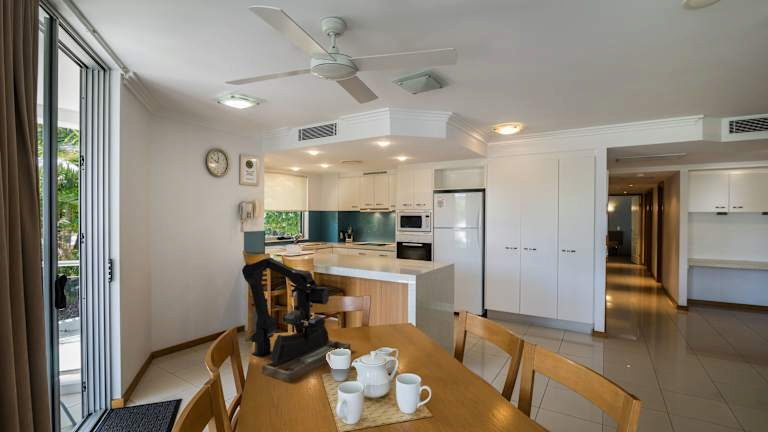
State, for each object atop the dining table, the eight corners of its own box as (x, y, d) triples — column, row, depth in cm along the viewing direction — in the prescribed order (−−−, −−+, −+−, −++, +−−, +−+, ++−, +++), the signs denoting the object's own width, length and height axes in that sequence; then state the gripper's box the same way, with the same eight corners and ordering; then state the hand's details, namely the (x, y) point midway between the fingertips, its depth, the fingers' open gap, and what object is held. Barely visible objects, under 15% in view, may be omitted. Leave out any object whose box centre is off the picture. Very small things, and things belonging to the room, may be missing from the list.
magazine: (271, 342, 133) (324, 307, 158) (265, 341, 135) (318, 306, 160) (279, 383, 137) (330, 342, 162) (273, 381, 138) (324, 341, 163)
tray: (262, 373, 136) (262, 365, 136) (326, 344, 167) (326, 338, 167) (288, 382, 128) (288, 374, 128) (350, 350, 159) (350, 344, 159)
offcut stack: (286, 374, 136) (286, 364, 136) (329, 352, 159) (329, 344, 159) (297, 377, 134) (297, 368, 134) (340, 354, 156) (340, 346, 156)
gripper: (272, 303, 148) (272, 341, 148) (306, 309, 138) (306, 350, 138) (292, 298, 157) (292, 334, 157) (325, 304, 147) (325, 342, 147)
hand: (303, 340), depth 150 cm, fingers closed on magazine, 3 cm apart
